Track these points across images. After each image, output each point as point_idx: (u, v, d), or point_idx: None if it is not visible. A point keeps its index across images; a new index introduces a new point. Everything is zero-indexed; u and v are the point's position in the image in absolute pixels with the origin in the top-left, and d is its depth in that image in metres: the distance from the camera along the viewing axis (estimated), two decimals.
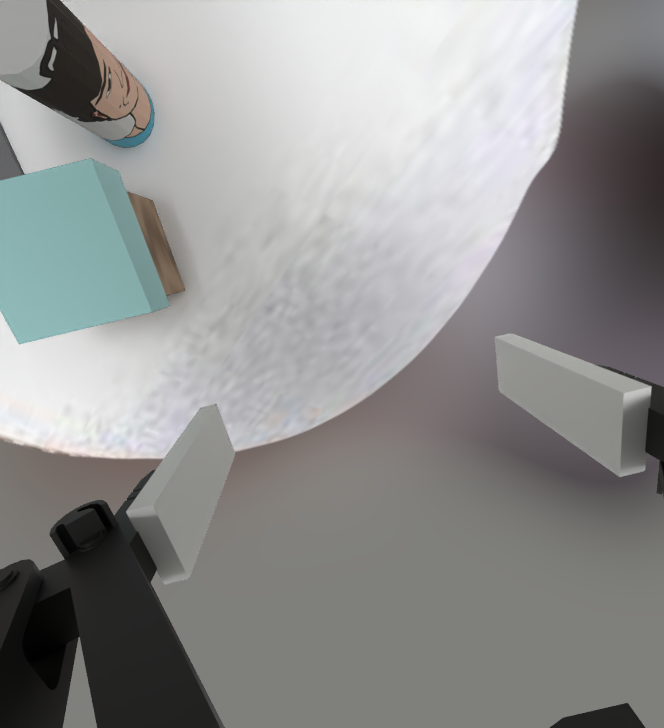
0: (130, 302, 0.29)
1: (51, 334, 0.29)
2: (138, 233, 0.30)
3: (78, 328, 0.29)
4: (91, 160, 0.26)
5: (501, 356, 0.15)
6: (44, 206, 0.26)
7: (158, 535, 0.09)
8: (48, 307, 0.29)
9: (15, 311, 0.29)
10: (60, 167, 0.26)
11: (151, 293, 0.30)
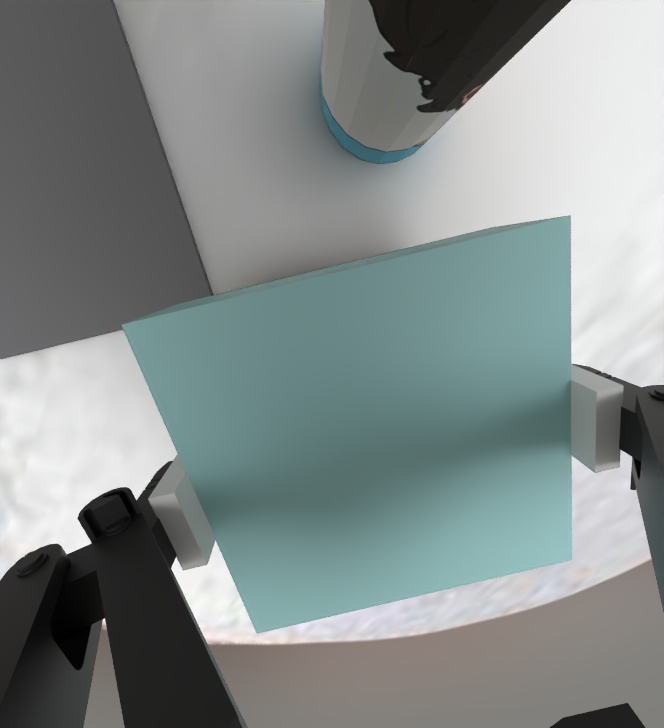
0: (531, 545, 0.12)
1: (334, 611, 0.12)
2: None
3: (398, 597, 0.12)
4: (567, 220, 0.09)
5: None
6: (405, 344, 0.09)
7: (178, 522, 0.10)
8: (344, 562, 0.12)
9: (264, 574, 0.12)
10: (479, 241, 0.09)
11: None
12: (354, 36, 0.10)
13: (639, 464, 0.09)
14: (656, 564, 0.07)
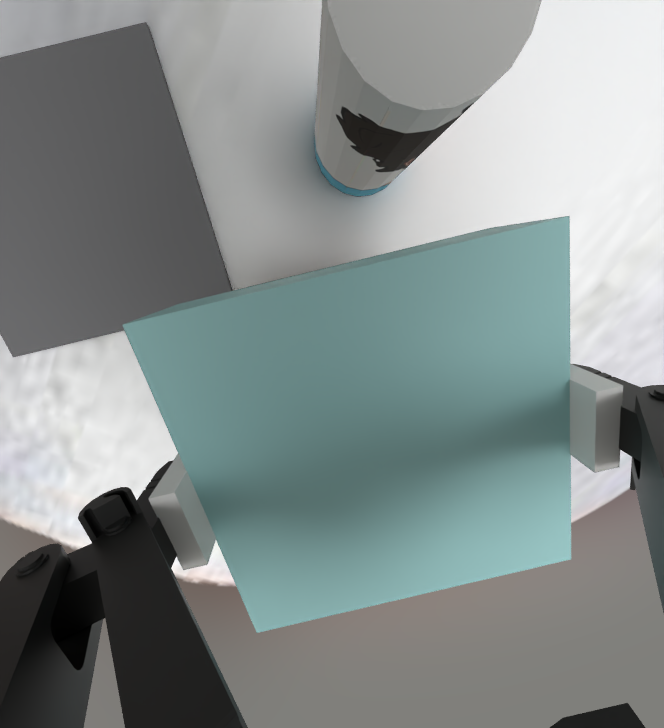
0: (530, 544, 0.12)
1: (334, 611, 0.13)
2: None
3: (397, 597, 0.12)
4: (566, 220, 0.09)
5: None
6: (404, 344, 0.10)
7: (179, 522, 0.10)
8: (344, 561, 0.12)
9: (265, 573, 0.12)
10: (478, 241, 0.09)
11: None
12: (333, 133, 0.17)
13: (639, 464, 0.09)
14: (656, 564, 0.07)
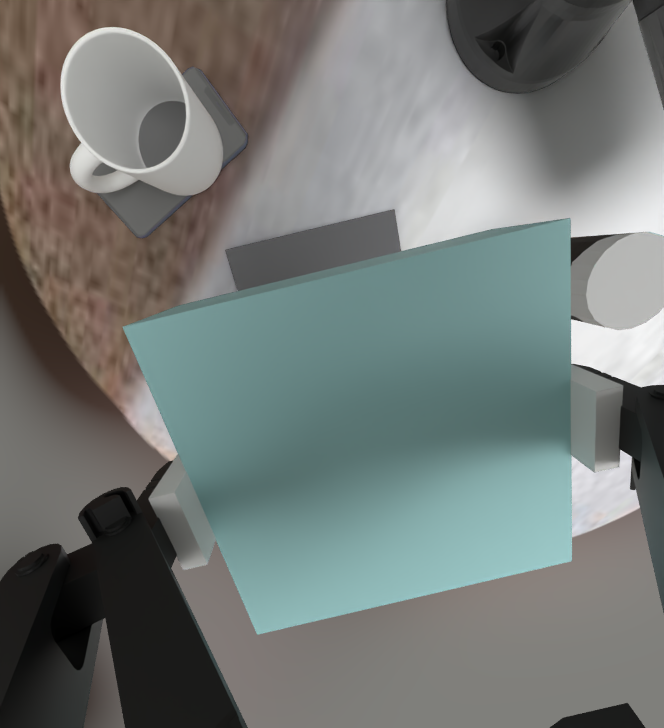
0: (531, 546, 0.12)
1: (334, 612, 0.13)
2: None
3: (398, 599, 0.12)
4: (567, 223, 0.09)
5: None
6: (405, 346, 0.10)
7: (178, 522, 0.10)
8: (345, 563, 0.12)
9: (265, 575, 0.12)
10: (479, 244, 0.09)
11: None
12: None
13: (639, 464, 0.09)
14: (655, 564, 0.07)
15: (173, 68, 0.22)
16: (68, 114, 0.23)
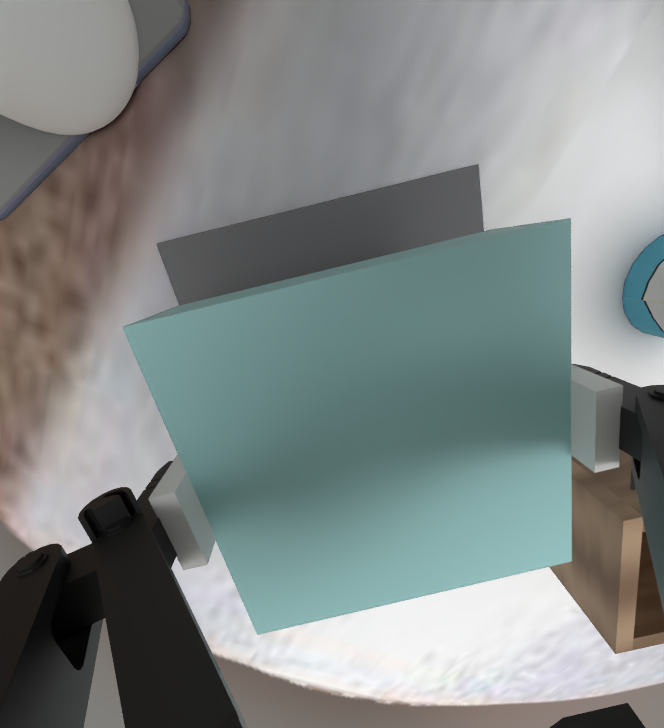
0: (531, 546, 0.12)
1: (334, 613, 0.12)
2: None
3: (398, 599, 0.12)
4: (567, 223, 0.09)
5: None
6: (405, 347, 0.09)
7: (178, 522, 0.10)
8: (345, 563, 0.12)
9: (265, 575, 0.12)
10: (479, 244, 0.09)
11: None
12: None
13: (639, 464, 0.09)
14: (656, 564, 0.07)
15: None
16: None
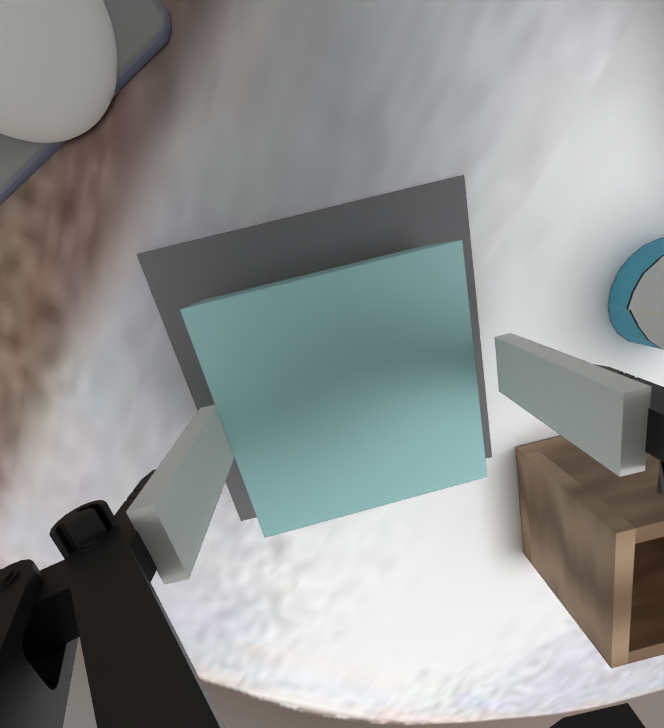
0: (457, 465, 0.17)
1: (320, 519, 0.17)
2: None
3: (366, 507, 0.17)
4: (461, 243, 0.14)
5: (501, 356, 0.15)
6: (363, 322, 0.15)
7: (158, 535, 0.09)
8: (327, 479, 0.17)
9: (270, 489, 0.16)
10: (407, 256, 0.14)
11: None
12: None
13: None
14: None
15: None
16: None
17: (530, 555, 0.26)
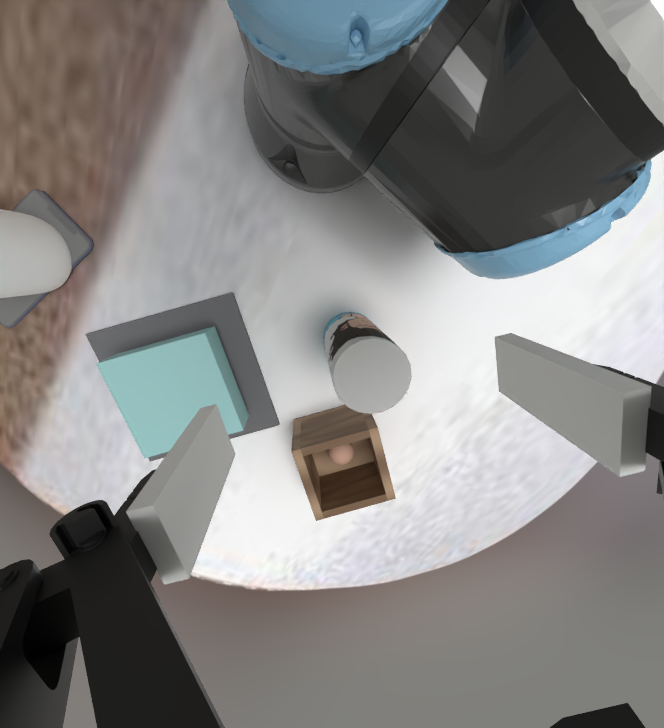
0: (227, 425, 0.39)
1: (168, 450, 0.39)
2: (228, 369, 0.40)
3: None
4: (205, 333, 0.36)
5: (501, 356, 0.15)
6: (170, 365, 0.36)
7: (158, 535, 0.09)
8: (168, 431, 0.38)
9: (143, 436, 0.38)
10: (183, 339, 0.36)
11: (240, 414, 0.40)
12: None
13: None
14: None
15: None
16: None
17: None
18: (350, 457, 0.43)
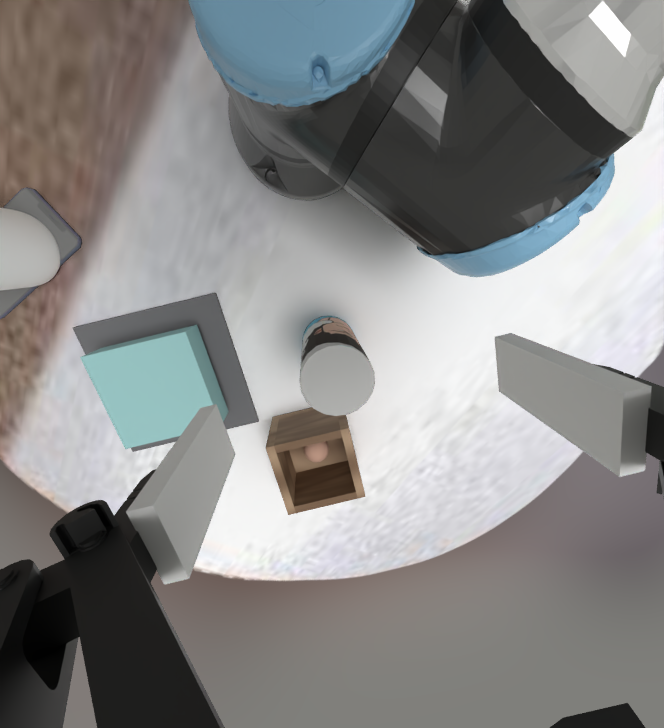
0: None
1: (148, 442, 0.41)
2: (209, 366, 0.42)
3: (168, 437, 0.41)
4: (185, 332, 0.37)
5: (501, 356, 0.15)
6: (151, 361, 0.38)
7: (158, 535, 0.09)
8: (148, 424, 0.40)
9: (124, 427, 0.40)
10: (164, 337, 0.37)
11: (219, 411, 0.41)
12: None
13: None
14: None
15: None
16: None
17: None
18: (324, 455, 0.45)
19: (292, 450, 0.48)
